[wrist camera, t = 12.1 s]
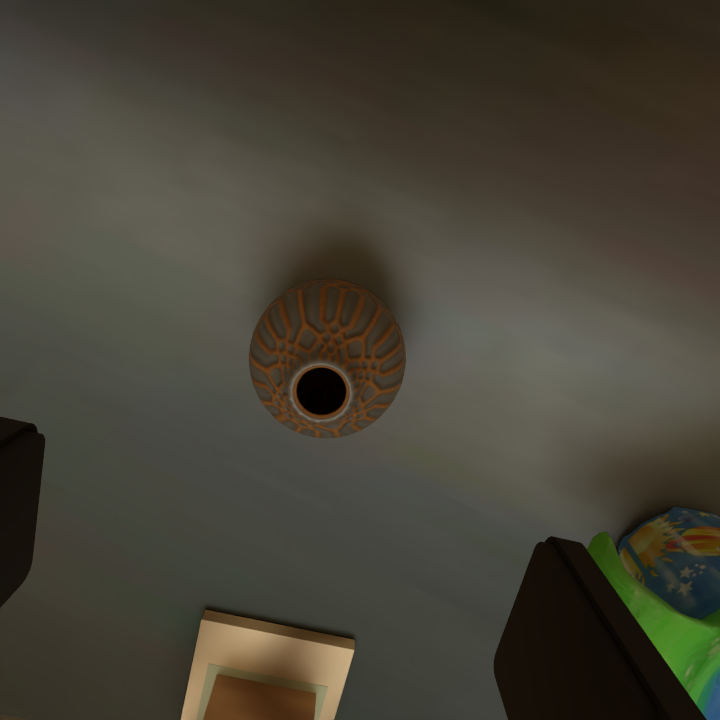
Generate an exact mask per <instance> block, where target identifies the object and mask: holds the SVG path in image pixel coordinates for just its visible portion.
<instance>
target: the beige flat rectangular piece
mask: <svg viewBox="0 0 720 720" xmlns="http://www.w3.org/2000/svg"><path fill="white" fill-rule="evenodd" d="M353 653H354V640H353V639H348V638H343V637H338V636H333V635H328V634H323V633H318V632H313V631H308V630H303V629H298V628H293V627H288V626H284V625H279V624H274V623H269V622H264V621H259V620H254V619H249V618H244V617H239V616H234V615H229V614H224V613H219V612H214V611H209V610H205V612H204V614H203V617H202V620H201V624H200V629H199V634H198V639H197V644H196V649H195V654H194V658H193V663H192V668H191V673H190V678H189V683H188V687H187V692H186V697H185V702H184V707H183V712H182V716H181V720H203V718H204V715H205V711H206V708H207V705H208V702H209V698H210V695H211V692H212V688H213V685H214V682H215V679H216V675H217V674H221V675H226V676H231V677H236V678H241V679H246V680H251V681H256V682H261V683H266V684H271V685H276V686H281V687H287V688H292V689H297V690H302V691H307V692H312V693H316V705H315V717H314V720H334V718H335V715H336V711H337V708H338V704H339V701H340V698H341V694H342V691H343V687H344V684H345V681H346V677H347V674H348V670H349V667H350V663H351V660H352V657H353Z"/></svg>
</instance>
